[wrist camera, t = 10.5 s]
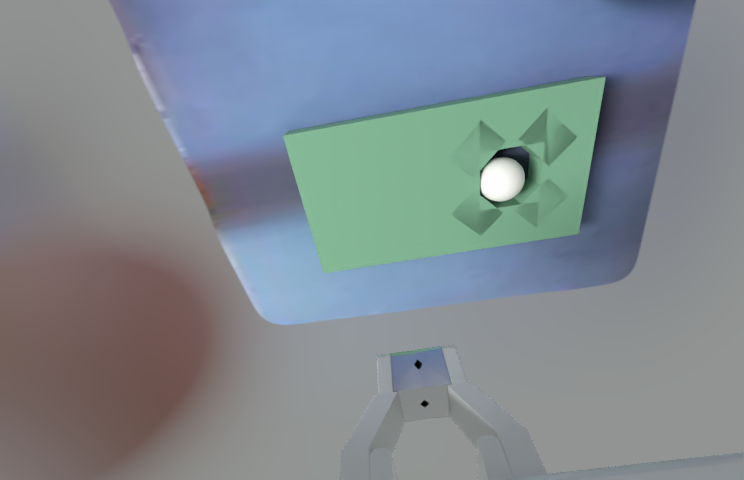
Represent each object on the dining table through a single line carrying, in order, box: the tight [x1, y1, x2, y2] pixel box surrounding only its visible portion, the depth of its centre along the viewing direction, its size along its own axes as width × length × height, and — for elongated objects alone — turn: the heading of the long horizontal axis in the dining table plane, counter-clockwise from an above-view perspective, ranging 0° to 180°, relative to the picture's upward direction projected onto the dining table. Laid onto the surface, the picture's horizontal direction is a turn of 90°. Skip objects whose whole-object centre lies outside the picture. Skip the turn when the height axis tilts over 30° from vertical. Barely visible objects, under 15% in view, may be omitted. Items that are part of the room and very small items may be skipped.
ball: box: [480, 157, 525, 202], centre depth 28 cm, size 4×4×4 cm
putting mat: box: [283, 77, 606, 273], centre depth 29 cm, size 14×26×2 cm, turn 100°
